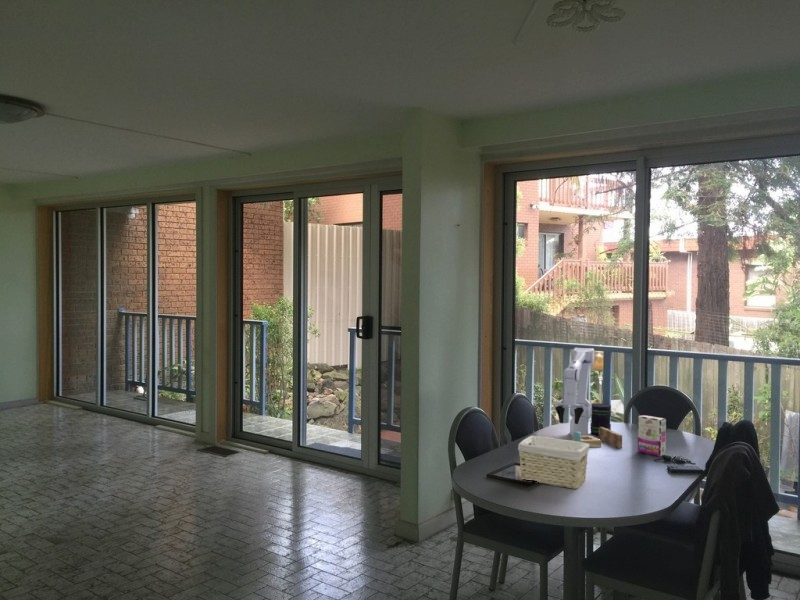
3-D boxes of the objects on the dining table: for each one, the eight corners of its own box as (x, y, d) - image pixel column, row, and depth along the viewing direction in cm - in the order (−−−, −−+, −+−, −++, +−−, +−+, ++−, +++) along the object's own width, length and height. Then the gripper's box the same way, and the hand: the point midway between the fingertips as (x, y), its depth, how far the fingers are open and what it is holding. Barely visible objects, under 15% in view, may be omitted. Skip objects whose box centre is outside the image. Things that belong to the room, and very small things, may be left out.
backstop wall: (598, 439, 309) (598, 426, 309) (602, 439, 310) (602, 426, 309) (618, 448, 291) (618, 435, 291) (622, 448, 292) (622, 435, 292)
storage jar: (613, 433, 321) (613, 404, 320) (608, 437, 312) (608, 407, 312) (593, 431, 326) (593, 402, 326) (587, 435, 318) (588, 405, 317)
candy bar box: (666, 455, 280) (666, 418, 279) (660, 457, 277) (660, 419, 276) (643, 450, 289) (643, 414, 288) (637, 451, 286) (637, 415, 285)
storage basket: (590, 480, 243) (590, 442, 242) (579, 491, 229) (580, 451, 228) (530, 470, 255) (530, 434, 254) (516, 481, 241) (516, 442, 240)
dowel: (572, 448, 290) (572, 431, 290) (578, 448, 290) (578, 431, 290) (575, 450, 287) (575, 433, 287) (581, 450, 287) (582, 432, 287)
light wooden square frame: (571, 442, 302) (571, 436, 302) (590, 441, 304) (590, 435, 304) (581, 447, 292) (581, 441, 292) (601, 446, 294) (601, 440, 294)
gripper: (559, 393, 291) (558, 423, 290) (588, 395, 294) (587, 425, 292) (553, 392, 298) (551, 421, 296) (581, 394, 301) (579, 423, 299)
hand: (568, 423), depth 295 cm, fingers open, 7 cm apart
